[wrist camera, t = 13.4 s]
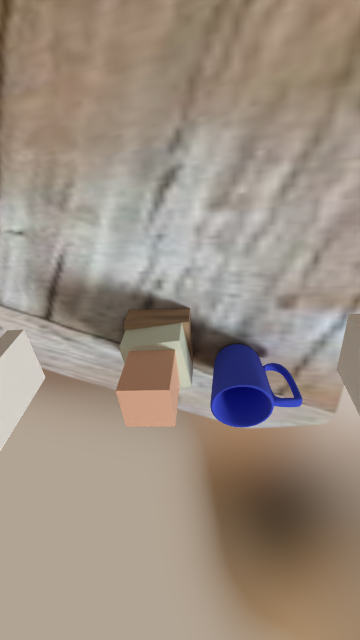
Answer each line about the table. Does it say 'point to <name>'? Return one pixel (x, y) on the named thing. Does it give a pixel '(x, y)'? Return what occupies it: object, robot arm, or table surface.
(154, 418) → the clay block
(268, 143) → the table surface
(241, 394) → the mug
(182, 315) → the riser lower
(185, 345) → the block
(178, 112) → the table surface
